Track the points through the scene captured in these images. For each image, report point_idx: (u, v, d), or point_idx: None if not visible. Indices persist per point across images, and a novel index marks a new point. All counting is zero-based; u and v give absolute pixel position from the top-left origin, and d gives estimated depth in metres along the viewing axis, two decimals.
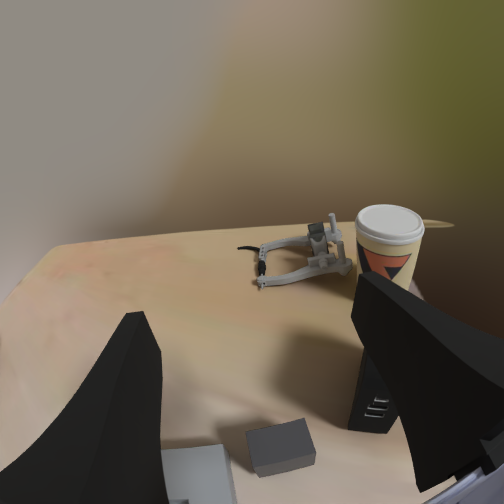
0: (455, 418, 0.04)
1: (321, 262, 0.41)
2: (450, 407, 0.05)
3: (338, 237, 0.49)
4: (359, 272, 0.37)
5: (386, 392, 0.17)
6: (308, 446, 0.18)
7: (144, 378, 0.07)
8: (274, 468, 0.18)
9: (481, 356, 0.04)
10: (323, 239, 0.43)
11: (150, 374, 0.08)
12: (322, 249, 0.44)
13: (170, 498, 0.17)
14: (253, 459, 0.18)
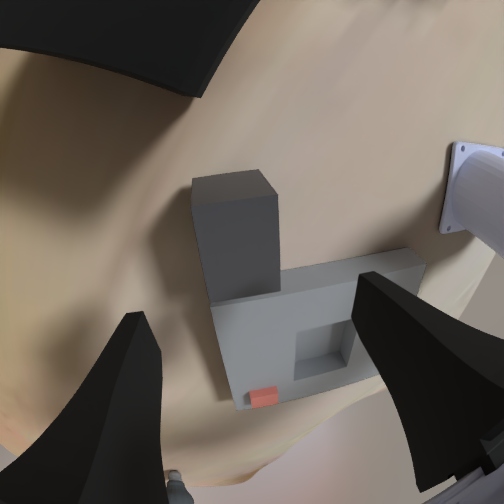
0: (455, 419, 0.04)
1: None
2: (450, 407, 0.05)
3: None
4: None
5: None
6: (259, 206, 0.12)
7: (144, 378, 0.07)
8: None
9: (482, 356, 0.04)
10: None
11: (150, 374, 0.08)
12: None
13: (294, 346, 0.21)
14: (265, 290, 0.14)
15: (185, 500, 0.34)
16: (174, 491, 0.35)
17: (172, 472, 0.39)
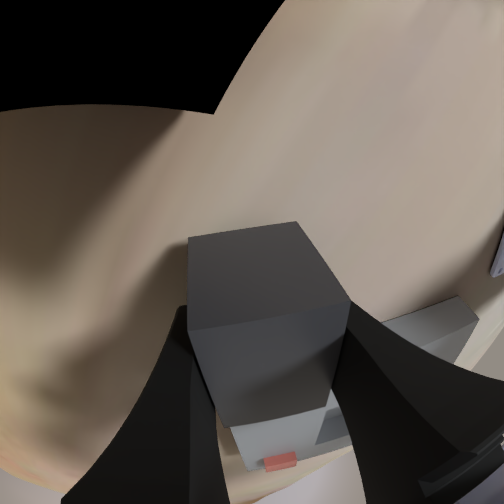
0: (395, 452, 0.04)
1: None
2: (390, 439, 0.05)
3: None
4: None
5: None
6: (317, 321, 0.06)
7: None
8: None
9: (425, 388, 0.04)
10: None
11: None
12: None
13: (321, 421, 0.15)
14: (305, 409, 0.08)
15: None
16: None
17: None
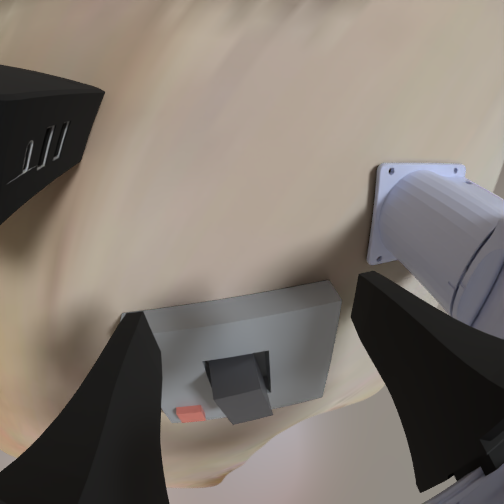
0: (455, 419, 0.04)
1: None
2: (450, 407, 0.05)
3: None
4: None
5: (8, 164, 0.06)
6: (251, 393, 0.19)
7: (144, 378, 0.07)
8: (265, 390, 0.22)
9: (481, 356, 0.04)
10: None
11: (150, 374, 0.08)
12: None
13: (204, 373, 0.21)
14: (263, 416, 0.21)
15: None
16: None
17: None
